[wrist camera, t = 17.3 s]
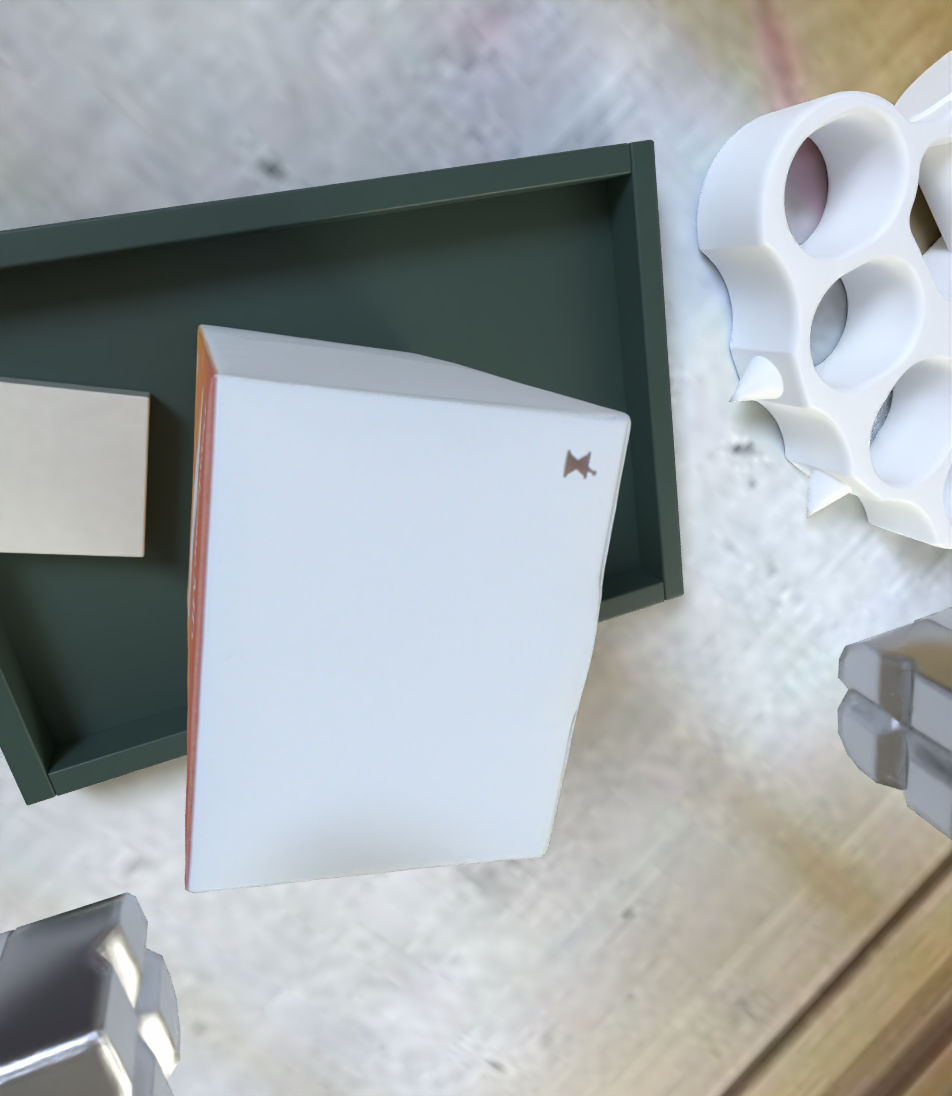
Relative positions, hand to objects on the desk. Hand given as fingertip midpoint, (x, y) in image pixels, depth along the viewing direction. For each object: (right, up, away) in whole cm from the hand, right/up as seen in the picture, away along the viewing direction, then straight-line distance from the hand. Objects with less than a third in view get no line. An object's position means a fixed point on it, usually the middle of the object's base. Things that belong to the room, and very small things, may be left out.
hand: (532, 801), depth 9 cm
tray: (-5, +6, +15) cm, 17 cm away
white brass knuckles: (+14, +12, +21) cm, 28 cm away
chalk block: (-12, +5, +13) cm, 18 cm away
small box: (-6, +5, +15) cm, 17 cm away
